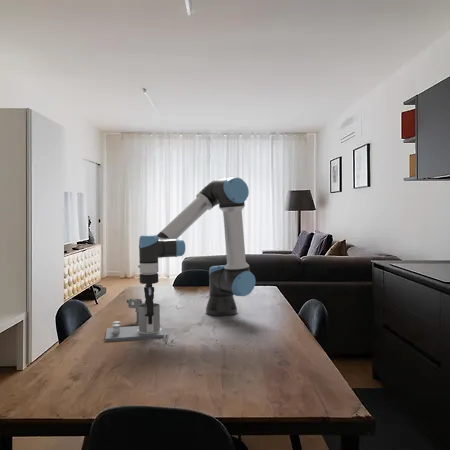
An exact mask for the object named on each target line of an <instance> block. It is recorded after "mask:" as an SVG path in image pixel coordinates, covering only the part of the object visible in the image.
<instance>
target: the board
mask: <svg viewBox="0 0 450 450" xmlns="http://www.w3.org/2000/svg"><path fill="white" fill-rule="evenodd" d="M164 336H165V335H164V333H163V329H162V326H161V324H160V330H159V331H156V332H150V333H144V332H140V331H139V325H134V326H133V325H132V326H121V321H120V320H119V321H117V320H116V321H115V320H114V321H113V322H112V324H111V327H107V328H106V332H105V338H104V342H105V343H107V342H111V343H112V342H121V341H123V342H124V341H137V340H139V341H141V340H152V339H164Z"/></svg>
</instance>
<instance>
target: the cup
mask: <svg viewBox="0 0 450 450" xmlns="http://www.w3.org/2000/svg"><path fill="white" fill-rule="evenodd" d="M144 303H145V302H144ZM160 308H161V306H160V304H159V303H157V302H156V303H154V302H153V312H154V315H153V316H154V332H156V331H159V330H160V325H161V321H160V319H161V317H160V315H161V311H160ZM145 314H147V305H146V303H145V304H141V305H139V322H138V326H139V331H140V332H144V333H150V332H147V318H146V316H145Z"/></svg>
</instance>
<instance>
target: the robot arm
mask: <svg viewBox="0 0 450 450" xmlns="http://www.w3.org/2000/svg"><path fill="white" fill-rule="evenodd" d="M249 193H250V191H249V187H248V184H247V182H246V181H245V180H243V179H242V178H241V177H237V176H230V177H229V176H228V177H223V178H216V179H214V180H212V181H211V182H209V183H208V184H207V185H206V186H204V187H203V188H202V189H201V190H200V191H198V193H197V194H196V198H194V200H192V201H191V202H190V204H188V206H186V207H185V208H184V209H183V210H182V211H181V212H179V214H178V215H177V216H175V217H174V219H172V220H171V221H170V222H169V223H168V224H167V225H166V226H165V227H164V228H163V229H162V230H161V231H160V232H158V233H157V234H142V235H140V236H139V240H138V252H139V255H138V256H139V264H138V265H137V268H139V273H140V274H139V283H140V284H142V285H145V286H144V287H143V292H144V298H145V299H144V300H146V305H147V314H145V316H146V318H147V332H154V316H153V315H154V312H153V303H154V298H155V287H154V286H153V284H158V283H159V274H158V272H159V259H162V258H177V257H183V256H184V254H185V253H186V242H185V241H184V240H183V239H182V238H180V237H181V236H182V235H183V234H184V233H185V232H186V231H187V230H189V228H190V227H191V226H192V225H193V224H194V223H195V222H197V220H199V218H200V217H201V216H202V215H203V214H204V213H205V212H207V211H208V210H209V211H211V210H212V209H213V208H214V207H215V206H217V205H218V209H219V210H220V211H222V213H223V214H222V215H223V217H222V218H223V228H224V239H225V241H224V242H225V252H226V253H225V254H226V264H224V265H212V266H210V267H209V271H208V278H209V279H208V281H209V284H208V285H209V286H208V289H209V297H208V301H207V304H206V307H205V314H207V315H209V316H215V317H216V316H218V317H224V316H226V317H227V316H232V315H233V316H234V315H236V314H237V313H238V308H237V304H236V301H235V298H234V296H236V297H246V296H249V295H250V294H251V293H252V291H254V289H255V286H256V277H255V275H254V274H253V273H252V272H251V270H250V264H248V262H247V261H246V249H245V248H246V247H245V246H246V245H245V235H244V223H243V210H244V208H245V206H246V203H245V201H247V199H248V197H249Z"/></svg>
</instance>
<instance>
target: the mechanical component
mask: <svg viewBox="0 0 450 450" xmlns="http://www.w3.org/2000/svg"><path fill="white" fill-rule="evenodd" d="M126 303H127V307H128V308H130V309H135V310H134V312H136V314H135V315H136V322H138V323H139V305H141V304H145V303H146V299H144V302H143V301H142V298H129V299H126Z"/></svg>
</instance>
